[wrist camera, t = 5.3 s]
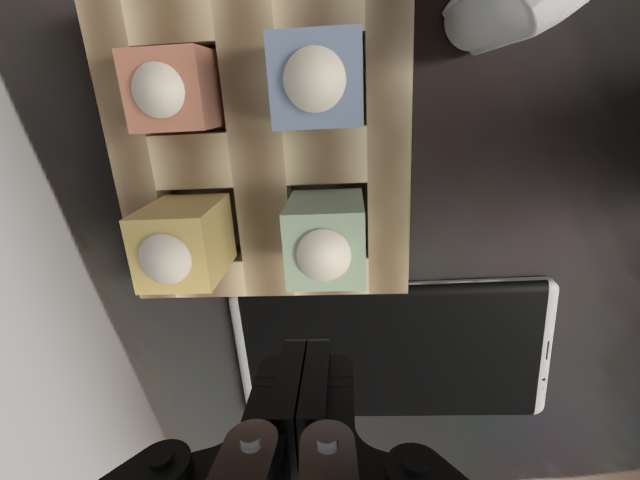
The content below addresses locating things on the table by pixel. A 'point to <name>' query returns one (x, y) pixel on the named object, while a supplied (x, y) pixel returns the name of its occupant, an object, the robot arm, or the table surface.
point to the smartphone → (419, 343)
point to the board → (265, 129)
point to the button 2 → (180, 244)
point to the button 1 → (169, 88)
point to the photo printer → (502, 21)
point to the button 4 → (324, 240)
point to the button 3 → (315, 77)
